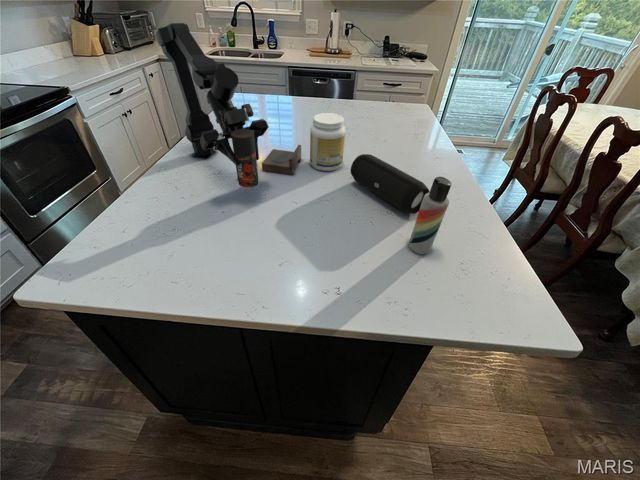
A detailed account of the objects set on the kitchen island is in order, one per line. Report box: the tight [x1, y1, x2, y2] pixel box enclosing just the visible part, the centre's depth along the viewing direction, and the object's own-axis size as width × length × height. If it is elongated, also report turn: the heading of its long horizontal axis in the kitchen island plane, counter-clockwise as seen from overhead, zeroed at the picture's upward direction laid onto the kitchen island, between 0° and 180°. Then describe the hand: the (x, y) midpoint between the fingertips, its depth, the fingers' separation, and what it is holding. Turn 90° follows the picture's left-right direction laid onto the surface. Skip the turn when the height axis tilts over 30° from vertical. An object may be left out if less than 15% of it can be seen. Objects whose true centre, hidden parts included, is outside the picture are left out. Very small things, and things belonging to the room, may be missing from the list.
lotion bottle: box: [408, 176, 453, 255], centre depth 70 cm, size 6×6×20 cm
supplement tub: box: [309, 112, 346, 172], centre depth 104 cm, size 12×12×17 cm
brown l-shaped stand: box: [261, 144, 302, 176], centre depth 106 cm, size 11×12×6 cm
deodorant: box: [231, 129, 260, 189], centre depth 83 cm, size 6×6×15 cm
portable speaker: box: [350, 153, 430, 215], centre depth 92 cm, size 26×10×10 cm, turn 37°
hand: (248, 162), depth 82 cm, fingers closed on deodorant, 6 cm apart
